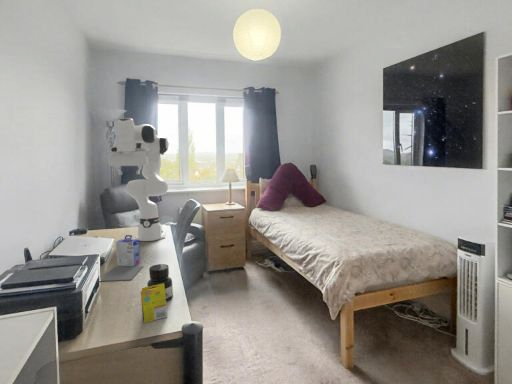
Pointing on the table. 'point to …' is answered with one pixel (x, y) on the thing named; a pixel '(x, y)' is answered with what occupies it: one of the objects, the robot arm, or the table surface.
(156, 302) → the crayon box
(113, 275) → the desk mat
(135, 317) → the table surface
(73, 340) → the table surface
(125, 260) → the ink cartridge box
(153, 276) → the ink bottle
